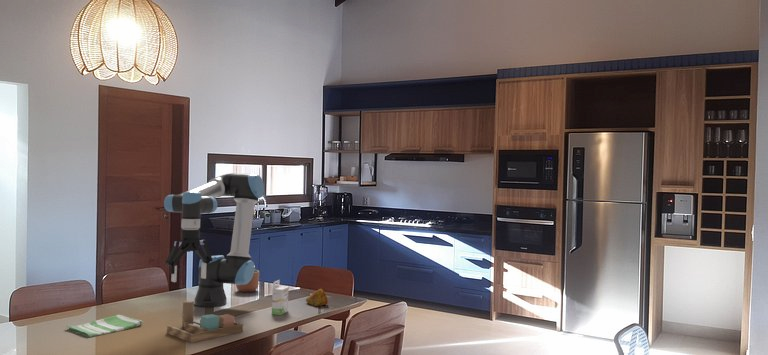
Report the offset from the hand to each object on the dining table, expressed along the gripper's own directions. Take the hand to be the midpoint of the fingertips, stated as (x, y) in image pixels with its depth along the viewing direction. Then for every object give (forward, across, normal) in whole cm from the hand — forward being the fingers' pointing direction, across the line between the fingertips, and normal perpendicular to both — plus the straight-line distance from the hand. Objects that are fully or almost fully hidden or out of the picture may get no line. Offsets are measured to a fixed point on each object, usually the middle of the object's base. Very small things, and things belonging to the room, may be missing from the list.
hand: (188, 280), depth 243 cm
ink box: (+19, +43, -7) cm, 48 cm away
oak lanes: (+19, 0, -13) cm, 23 cm away
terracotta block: (+19, +8, -16) cm, 26 cm away
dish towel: (+20, -25, +20) cm, 38 cm away
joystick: (+19, 0, -8) cm, 21 cm away
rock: (+19, +68, -5) cm, 71 cm away
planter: (+18, +61, +43) cm, 77 cm away
